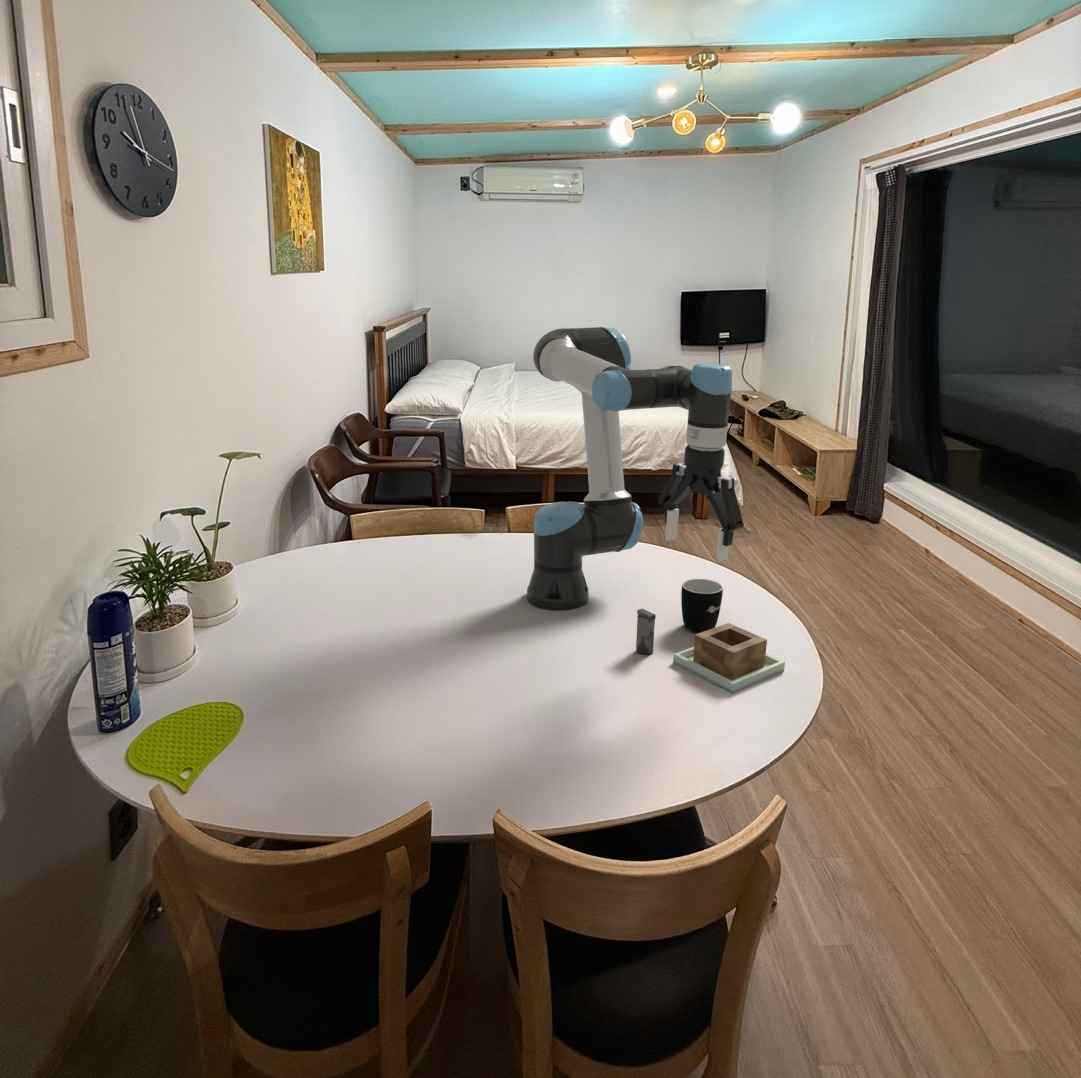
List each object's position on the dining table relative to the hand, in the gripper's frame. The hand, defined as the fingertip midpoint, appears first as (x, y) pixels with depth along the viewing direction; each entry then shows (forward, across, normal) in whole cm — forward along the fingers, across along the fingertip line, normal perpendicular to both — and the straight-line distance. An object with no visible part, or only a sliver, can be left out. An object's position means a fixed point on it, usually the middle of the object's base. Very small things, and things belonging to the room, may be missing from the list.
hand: (695, 549), depth 161 cm
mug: (+24, -7, +13) cm, 28 cm away
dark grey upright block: (+23, -5, -7) cm, 25 cm away
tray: (+23, +10, +2) cm, 25 cm away
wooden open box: (+22, +10, +2) cm, 24 cm away
